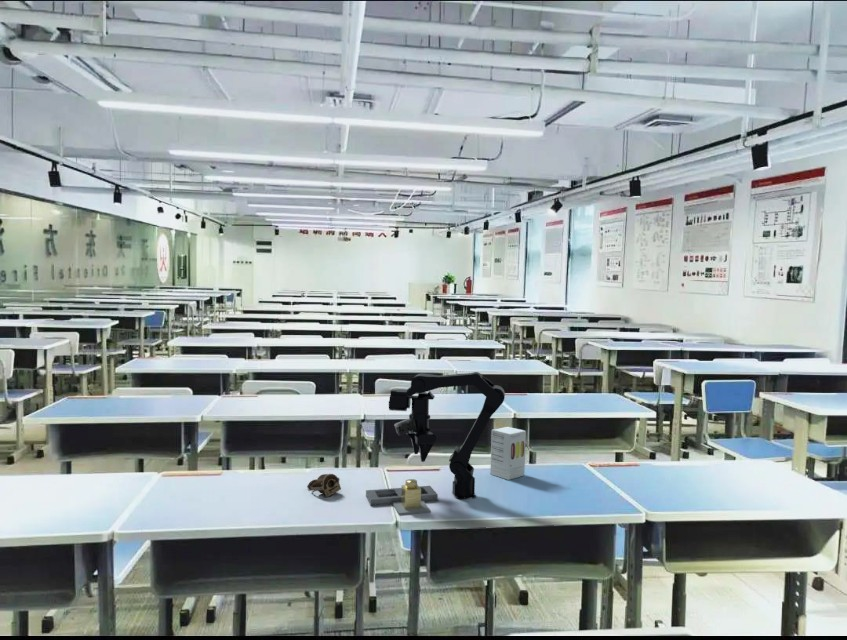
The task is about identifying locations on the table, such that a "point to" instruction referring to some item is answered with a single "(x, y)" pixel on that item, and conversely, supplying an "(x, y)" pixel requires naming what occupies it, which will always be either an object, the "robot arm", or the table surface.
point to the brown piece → (325, 484)
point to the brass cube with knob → (411, 495)
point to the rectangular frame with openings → (397, 495)
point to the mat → (403, 511)
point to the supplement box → (508, 452)
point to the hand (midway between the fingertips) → (419, 457)
